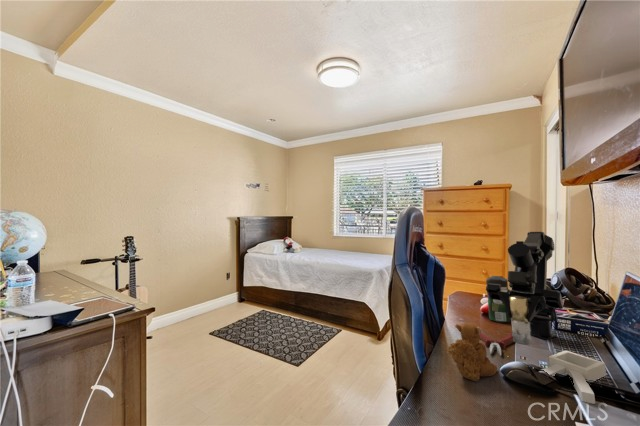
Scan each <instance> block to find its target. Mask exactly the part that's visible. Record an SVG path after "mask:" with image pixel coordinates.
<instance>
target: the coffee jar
mask: <svg viewBox="0 0 640 426" xmlns="http://www.w3.org/2000/svg"><path fill="white" fill-rule="evenodd" d="M485 282H486V286H487V285H488V284H489V283H491V284H500V285H501V286H502V288H507V289H509V286H508V285H509V284H508V283H509V282H508V278H505V277H504V276H501V275H492V276H489V277H487V278H486V279H485ZM486 294H487V295H486V298H487V307H488V318H489V320H491V321H494V322H496V323H510V322H511V318H509V317H508V313H507V309H506V305H505V303H503V302H502V301H501V300H494V299H491V298H490V297H489V295H488V293H487V292H486Z"/></svg>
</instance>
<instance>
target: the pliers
mask: <svg viewBox="0 0 640 426" xmlns="http://www.w3.org/2000/svg"><path fill="white" fill-rule="evenodd" d="M480 332H481V333H482V335H481V333H480ZM480 332H479V334H480V341H482V342H483V343H484V344H485V347H486V348H488V347H489V353H490V356H491V355H493V353H494V352H495V351H496V352H497V354H498V355H499V356H500V357H502V350H506V349H507V347H506V346H508V345H511V344H512V343H514V341H513V334H512V332H507V336H506V337H503V338H501V339H498V340H496V341H495V340H493V339H491V338H490V337H488V336H487V335H485V333H483V332H482V331H481V330H480Z"/></svg>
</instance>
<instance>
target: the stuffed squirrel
mask: <svg viewBox="0 0 640 426" xmlns="http://www.w3.org/2000/svg"><path fill="white" fill-rule="evenodd" d="M454 327H455V328H456V329H457V331H458V332H459V333H460V336H461V339H456V341H455V342H454V343H450V345H449V346H447V348H446V349H447V353H446V355H450V356H451V359H452V360H453V362H454V363H455V364H456V367H457V369H458V373H460V375H461V376H462V377H463V378H464V379H469V380H470V381H474V382H478V381H479V380H480V377H492V376H494V375H495V374H496V373H497V371H498V366H497V365H496V364H495V363H492V362H491V361H490V359H489V358H488V357H487V355H488V354H487V353H488V352H487V347H486V346H485V342H483V341H482V340H480V334H479V332H480V330H481V329H482V328H481V327H479V326H477V325H476V324H474V323H472V322H470V321H469V322H464V323H461V324H455V325H454ZM480 333H481V335H482V333H483V332H482V331H481V332H480Z"/></svg>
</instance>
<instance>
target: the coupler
mask: <svg viewBox="0 0 640 426" xmlns="http://www.w3.org/2000/svg"><path fill="white" fill-rule="evenodd" d="M509 298H510V310H511V319H510V322H511V331H512V332H511V334H512V336H513V343H516V344H519V345H526V346H530V345H531V344H532V337H531V336H532V335H530V331H531V325H530V322H528V300H527V298H526V297H521V296H510V297H509Z"/></svg>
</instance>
